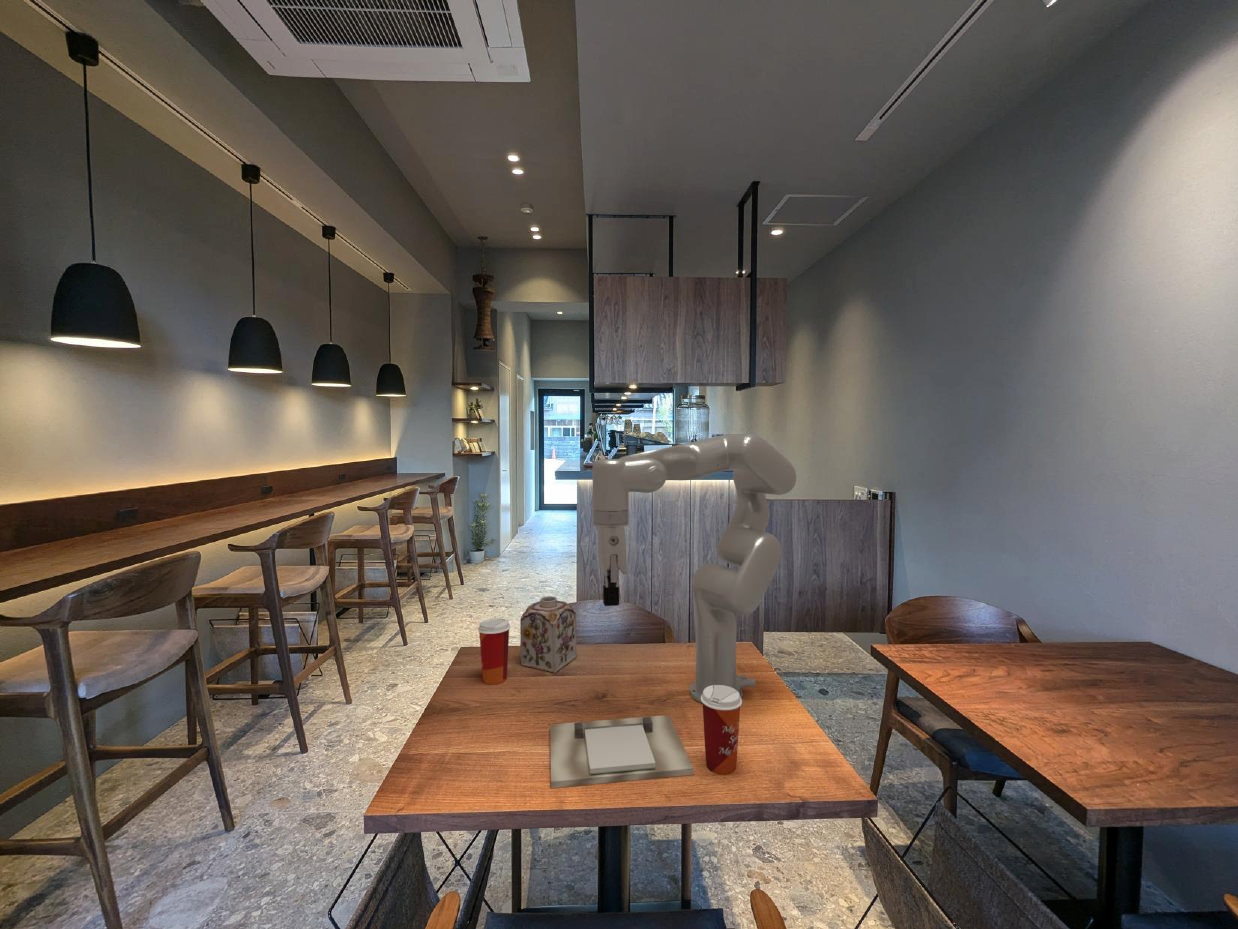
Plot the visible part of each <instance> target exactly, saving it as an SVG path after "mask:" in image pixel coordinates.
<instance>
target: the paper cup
mask: <svg viewBox="0 0 1238 929" xmlns="http://www.w3.org/2000/svg"><path fill="white" fill-rule="evenodd" d="M701 701H702V715H703V721H702V722H703V735H704V752H705V753H704V754H705V764H706V768H707V769H708V770H709V771H710V772H713V773H714V774H717V775H730V774H732V773H734V772H735V771H736V769H737V759H738V749H739V747H738V746H739V732H740V730H739V729H740V716H741V706H742V704H743V698H742V699H741V697H740V694H739V692H738V691H737V690H735V689H734V688H732V687H729V686H724V685H712V686H708V687H706V688H705V689H704V691H703V694H702V695H701Z"/></svg>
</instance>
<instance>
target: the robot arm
mask: <svg viewBox="0 0 1238 929" xmlns="http://www.w3.org/2000/svg"><path fill="white" fill-rule="evenodd" d="M730 470H733V472H732V480H733V483H734V487H735V491H736V494H737V505H736V508H735V510H734V512H733V514H732V516H731V518H730V520H729V522H728V524H727V526H726V528H725V530H724V531H723V533H722V535H721V537H720V540H718V545H717V548H716V549H717V550H716V551H717V556H718V557H719V559H721V561H724V562H725V563H727V564H729V565H732V566H735V567H738V568H739V569H734V568H733V567H729V566H726V565H721V564H719V563H718V564H717V563H706V564H703V565H701V566H699V567H698V568H697V569H696V571H694V573H693V577H692V580H691V588H692V596H693V600H694V608H695V624H696V626H695V629H696V630H695V649H696V650H695V681H693V682H692V683H691V684H690V685H689V694H690V697H692V698H693V699H694V700H696V701H697V702H699V703H702V701H701V695H702V694H703V691H704V689H705V688H706V687H708V686H712V685H724V686H729V687H732V688H734V689H735V690H737V691H738V692H739V694H740V697H741V699H742V700H743V689H744V688H746V687H747V688H753V687H756V685H757V684H756V679H755V677H748V678H747V676H746V674H742V675H741V674H740V675H737V621H736V620H737V619H736V615H735V614H737V615H739V616H748V615H750V614H752V613H753V612H754V611H755V610H757V608H758V607H759V606H760V603H761V602H762V600H763V598H764V597H765V594H766V593H767V590H768V588H769V586H770V585H771V582H772V580H773V578H774V577H775V575H776V573H777V570H778V568H779V566H780V563H781V557H782V547H781V543H780V542H779V540H778V539H777V537H776V536H775V535H773V534H771V533H770V532H766V528H767V526H768V525H769V524H768V523H769V521H770V516H771V513H770V507H769V504H768V500H767V497H766V495H773V496H774V495H776V496H781V495H786V494H788V493H790V492H791V491H792V490H793V489H794V487H795V485H796V482H797V473H796V469H795V467H794V466H793V464H792V463H791V461H789V459H787V458H786V457H785V456H784V455H783V454H782V453H780V451H779V450H777V448H775V447H774V446H772V445H771V443H769V442H768V441H766V440H765V439H763V438H762V437H760V436H759V435H756V434H754V433H731V434H730V433H729V434H728V433H727V434H722V435H721V434H720V435H717V436H712V437H709V438H705V439H701V440H696V441H691V442H688V443H683V444H677V445H673V446H669V447H668V446H667V447H662V448H658V449H652V450H646V451H641V452H638V453H633V454H629V455H625V456H621V457H619V458H601V459H597V460H595V461H594V462H593V464H592V527H593V526H594V527H597V528H598V529H597V530H598V533H597V534H598V535H597V536H598V537H597V541H598V542H597V543H598V544H597V546H598V562H599V568H600V570H601V573H602V574H603V586H602V603H603V605H604V606H605V607H611V606H613V607H615V606H619V605H620V586H619V583H620V581H619V579H620V577H619V576H620V574H619V573H621V574H623V575H626V574H627V573H628V566H627V565H628V564H627V541H626V528H625V527H628V526H629V522H630V519H629V516H630V515H629V507H630V506H629V505H630V504H629V502H630V501H629V498H630V496H629V493H630V492H631V493H642V494H651V493H655V492H657V491H659V490H660V489H661V488H663V486H664V485H665V483H666V481H692V480H698V479H699V480H700V479H701V478H705V477H708V476H711V475H714V474H718V473H722V472H726V471H730ZM702 704H703V703H702Z"/></svg>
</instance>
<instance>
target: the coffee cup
mask: <svg viewBox="0 0 1238 929" xmlns="http://www.w3.org/2000/svg"><path fill="white" fill-rule="evenodd" d="M511 627H512V626H511V624H510V622H509V620H508V619H505V618H501V617H493V618H487V619H485V620H484V619H483V620H482V621H480V622H479V625H478V627H477V631H478V633H479V646H480V658H481V670H482V671H481V673H482V681H483V684H485V683H486V684H485V685H489V686H495V684H496V685H500V684H503V683H504V681H505V680H506V681H507V678H508V666H509V665H508V662H509V640H510V629H511ZM506 681H505V682H506ZM502 682H503V683H502ZM499 683H500V684H499Z"/></svg>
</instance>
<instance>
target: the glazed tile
mask: <svg viewBox="0 0 1238 929" xmlns="http://www.w3.org/2000/svg"><path fill="white" fill-rule="evenodd" d="M584 733H585V740H586V747H587V755H588V762H589V770H590V774H598V773H609V772H620V771H631V770H642V769H652V768H655V760H654V757H653V754H652V751H651V749H650V746H649V743H648V740H647V737H646V734H645V731H644V728H643V725H642V723H636V724H624V725H611V726H599V727H586V728H584Z"/></svg>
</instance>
